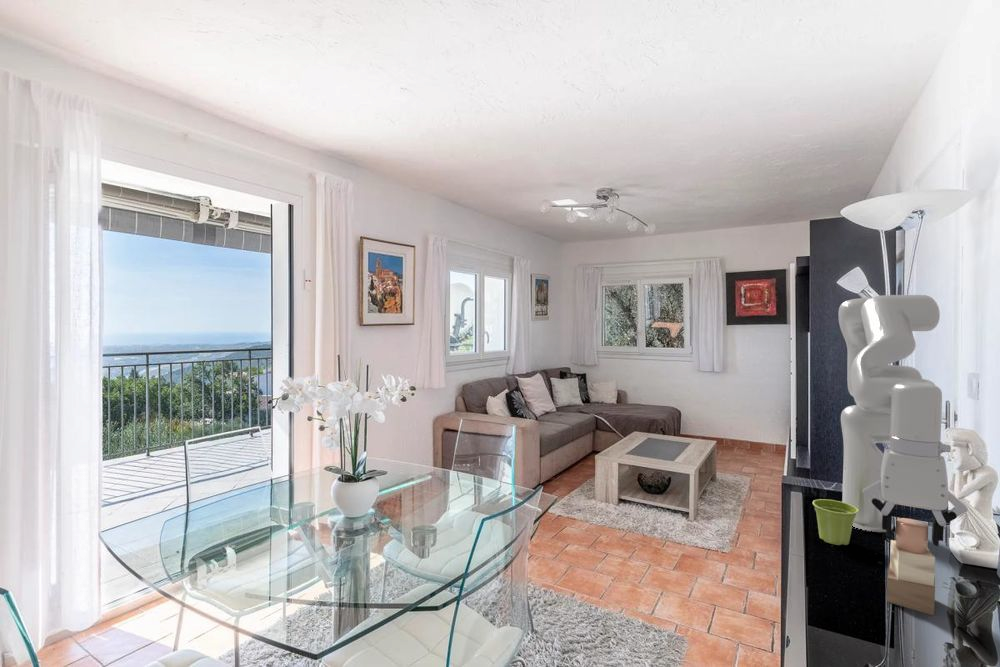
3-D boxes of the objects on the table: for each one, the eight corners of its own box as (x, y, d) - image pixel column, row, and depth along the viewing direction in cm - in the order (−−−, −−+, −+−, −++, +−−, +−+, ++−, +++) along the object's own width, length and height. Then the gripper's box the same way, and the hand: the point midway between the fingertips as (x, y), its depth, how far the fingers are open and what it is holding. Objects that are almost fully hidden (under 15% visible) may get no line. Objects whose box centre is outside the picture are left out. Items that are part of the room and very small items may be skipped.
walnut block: (888, 587, 104) (889, 563, 104) (933, 600, 99) (934, 575, 99) (886, 602, 99) (887, 577, 98) (934, 616, 94) (935, 590, 94)
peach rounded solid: (894, 540, 102) (895, 516, 102) (925, 547, 99) (926, 521, 99) (896, 549, 98) (897, 524, 98) (928, 556, 95) (930, 530, 95)
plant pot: (814, 529, 132) (815, 496, 132) (858, 539, 126) (859, 504, 126) (808, 541, 125) (809, 506, 124) (855, 553, 119) (856, 516, 118)
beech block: (889, 566, 103) (890, 539, 102) (924, 572, 100) (925, 545, 100) (897, 579, 98) (898, 551, 97) (934, 586, 95) (935, 557, 95)
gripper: (971, 450, 96) (968, 543, 97) (859, 437, 106) (856, 521, 107) (979, 459, 90) (975, 558, 90) (859, 444, 100) (856, 534, 100)
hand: (911, 537), depth 99 cm, fingers open, 6 cm apart
